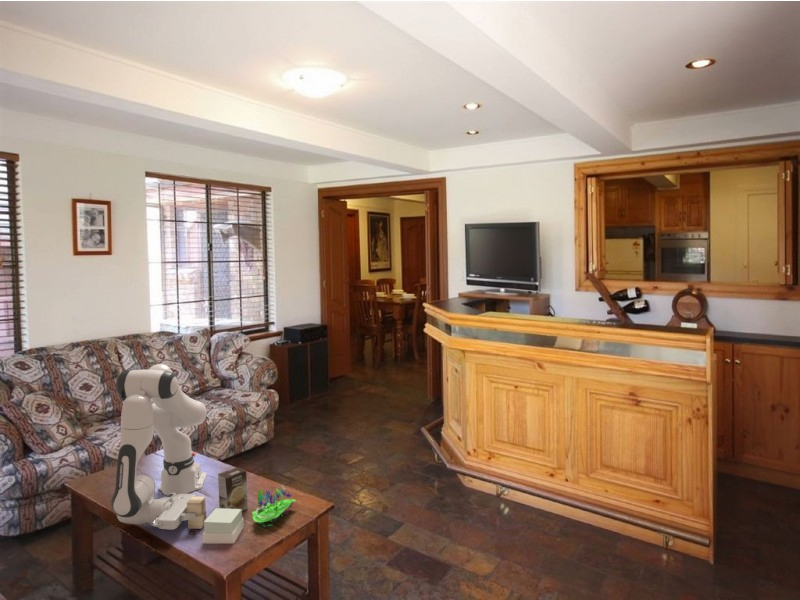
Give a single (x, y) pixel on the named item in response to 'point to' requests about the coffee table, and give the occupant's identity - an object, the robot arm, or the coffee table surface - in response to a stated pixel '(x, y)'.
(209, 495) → the coffee table surface
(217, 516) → the top slab
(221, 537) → the bottom slab
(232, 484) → the coffee box
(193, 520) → the birch block
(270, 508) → the diorama
